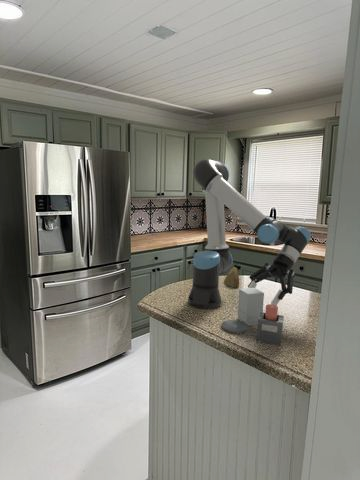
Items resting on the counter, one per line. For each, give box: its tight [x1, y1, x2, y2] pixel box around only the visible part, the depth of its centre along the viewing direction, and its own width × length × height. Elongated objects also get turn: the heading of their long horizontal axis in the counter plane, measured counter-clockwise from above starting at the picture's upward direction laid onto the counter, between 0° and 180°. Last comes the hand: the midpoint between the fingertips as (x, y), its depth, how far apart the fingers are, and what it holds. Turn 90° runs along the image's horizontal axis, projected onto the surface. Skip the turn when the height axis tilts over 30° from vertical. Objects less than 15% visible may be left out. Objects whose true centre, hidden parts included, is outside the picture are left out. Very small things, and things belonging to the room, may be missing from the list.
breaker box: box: [256, 311, 285, 346], centre depth 112 cm, size 8×7×8 cm
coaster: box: [221, 319, 250, 335], centre depth 121 cm, size 10×10×1 cm
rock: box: [223, 266, 240, 289], centre depth 174 cm, size 11×9×10 cm
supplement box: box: [236, 287, 265, 326], centre depth 127 cm, size 7×7×13 cm
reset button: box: [264, 303, 279, 321], centre depth 111 cm, size 4×4×7 cm
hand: (259, 300), depth 127 cm, fingers open, 13 cm apart
